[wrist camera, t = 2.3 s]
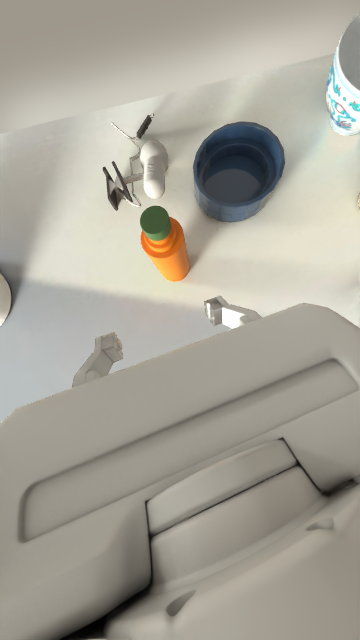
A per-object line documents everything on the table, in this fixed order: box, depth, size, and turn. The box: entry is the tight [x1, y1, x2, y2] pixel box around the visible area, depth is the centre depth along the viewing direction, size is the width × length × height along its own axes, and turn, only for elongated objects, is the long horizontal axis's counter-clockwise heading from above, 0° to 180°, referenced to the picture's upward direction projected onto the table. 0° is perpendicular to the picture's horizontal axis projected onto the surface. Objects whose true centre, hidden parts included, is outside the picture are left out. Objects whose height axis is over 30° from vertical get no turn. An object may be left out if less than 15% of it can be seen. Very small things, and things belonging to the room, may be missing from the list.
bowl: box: [193, 122, 285, 222], centre depth 30 cm, size 14×14×4 cm
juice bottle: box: [140, 206, 189, 282], centre depth 25 cm, size 6×6×14 cm
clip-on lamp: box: [103, 113, 168, 211], centre depth 31 cm, size 12×6×18 cm
